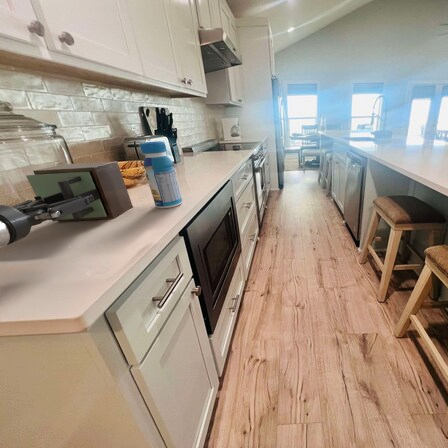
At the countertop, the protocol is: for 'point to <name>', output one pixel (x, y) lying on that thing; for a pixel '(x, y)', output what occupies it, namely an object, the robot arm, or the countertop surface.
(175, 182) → the beverage bottle
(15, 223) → the robot arm
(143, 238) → the countertop surface
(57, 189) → the sliding door
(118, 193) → the cabinet
